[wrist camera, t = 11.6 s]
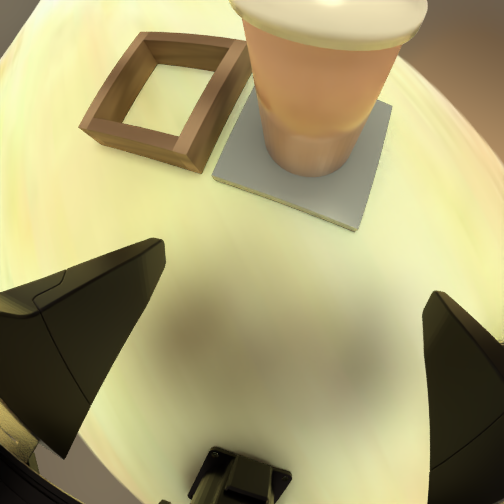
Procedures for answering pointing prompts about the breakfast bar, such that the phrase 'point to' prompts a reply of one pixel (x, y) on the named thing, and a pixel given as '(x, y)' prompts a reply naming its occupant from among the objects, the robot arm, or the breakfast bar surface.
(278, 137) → the peach plastic cup
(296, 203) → the tile
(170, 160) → the frame
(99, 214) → the breakfast bar surface
